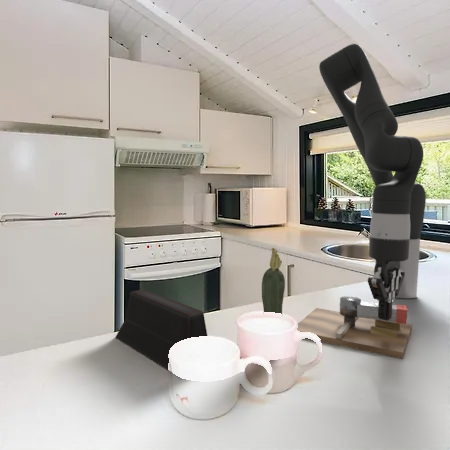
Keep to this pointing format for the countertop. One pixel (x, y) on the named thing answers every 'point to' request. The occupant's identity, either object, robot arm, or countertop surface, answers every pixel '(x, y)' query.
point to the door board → (358, 332)
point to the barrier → (158, 325)
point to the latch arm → (370, 310)
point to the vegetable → (273, 285)
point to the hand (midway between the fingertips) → (384, 318)
